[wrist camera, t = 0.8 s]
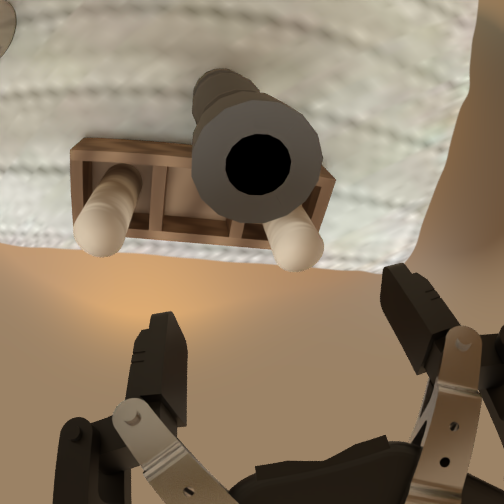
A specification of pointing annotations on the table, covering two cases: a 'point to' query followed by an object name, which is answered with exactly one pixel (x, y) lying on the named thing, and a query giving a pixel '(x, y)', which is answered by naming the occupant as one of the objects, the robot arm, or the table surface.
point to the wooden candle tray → (176, 204)
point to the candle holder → (250, 150)
